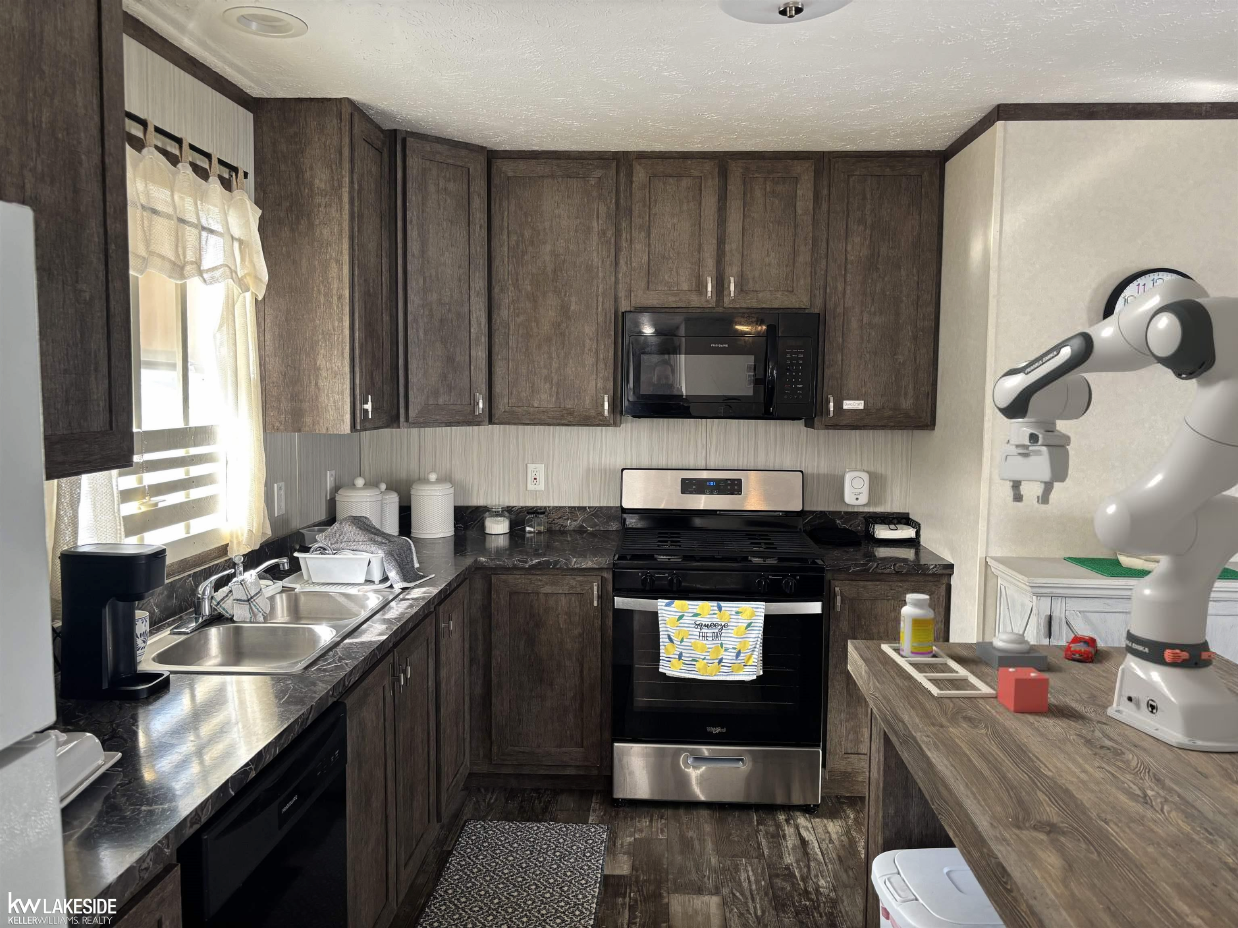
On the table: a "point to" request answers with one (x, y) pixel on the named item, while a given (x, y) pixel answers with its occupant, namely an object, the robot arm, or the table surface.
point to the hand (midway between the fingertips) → (1029, 503)
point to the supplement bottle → (917, 627)
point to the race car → (1081, 648)
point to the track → (942, 659)
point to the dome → (1011, 642)
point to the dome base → (1011, 657)
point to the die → (1023, 689)
